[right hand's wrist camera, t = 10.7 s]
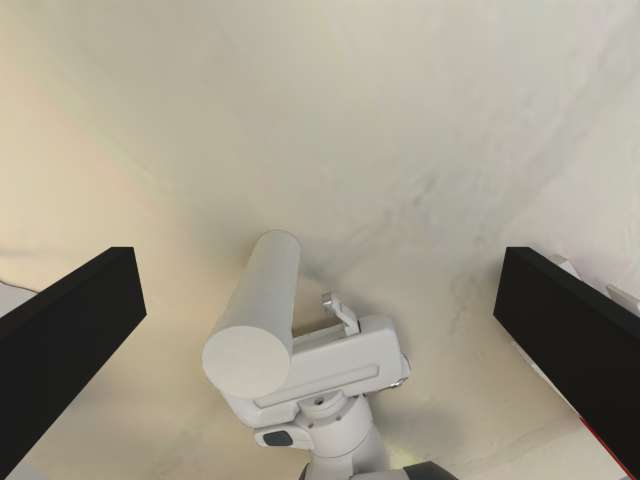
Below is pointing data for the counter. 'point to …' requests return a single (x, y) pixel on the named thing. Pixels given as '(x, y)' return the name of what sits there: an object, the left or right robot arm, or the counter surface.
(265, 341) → the white cylinder
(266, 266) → the jar
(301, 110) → the counter surface
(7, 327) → the right robot arm
